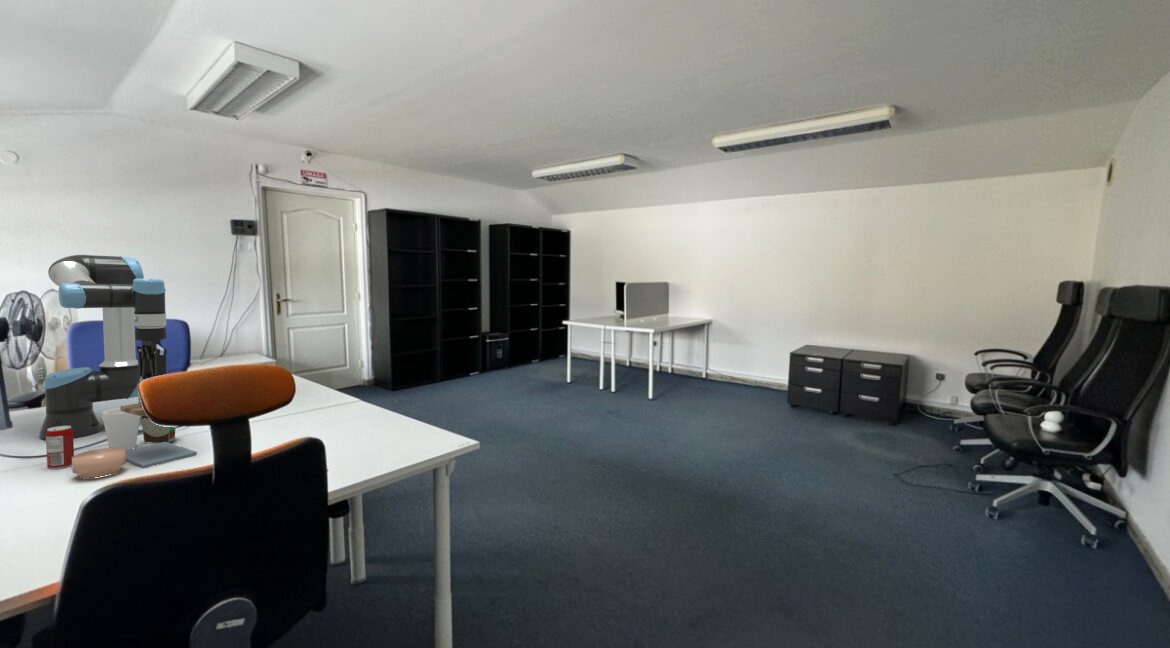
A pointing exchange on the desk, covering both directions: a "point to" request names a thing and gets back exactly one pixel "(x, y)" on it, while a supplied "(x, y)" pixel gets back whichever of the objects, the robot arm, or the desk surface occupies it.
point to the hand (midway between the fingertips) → (153, 399)
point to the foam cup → (121, 428)
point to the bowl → (98, 462)
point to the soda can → (59, 447)
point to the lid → (134, 409)
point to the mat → (156, 454)
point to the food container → (156, 432)
